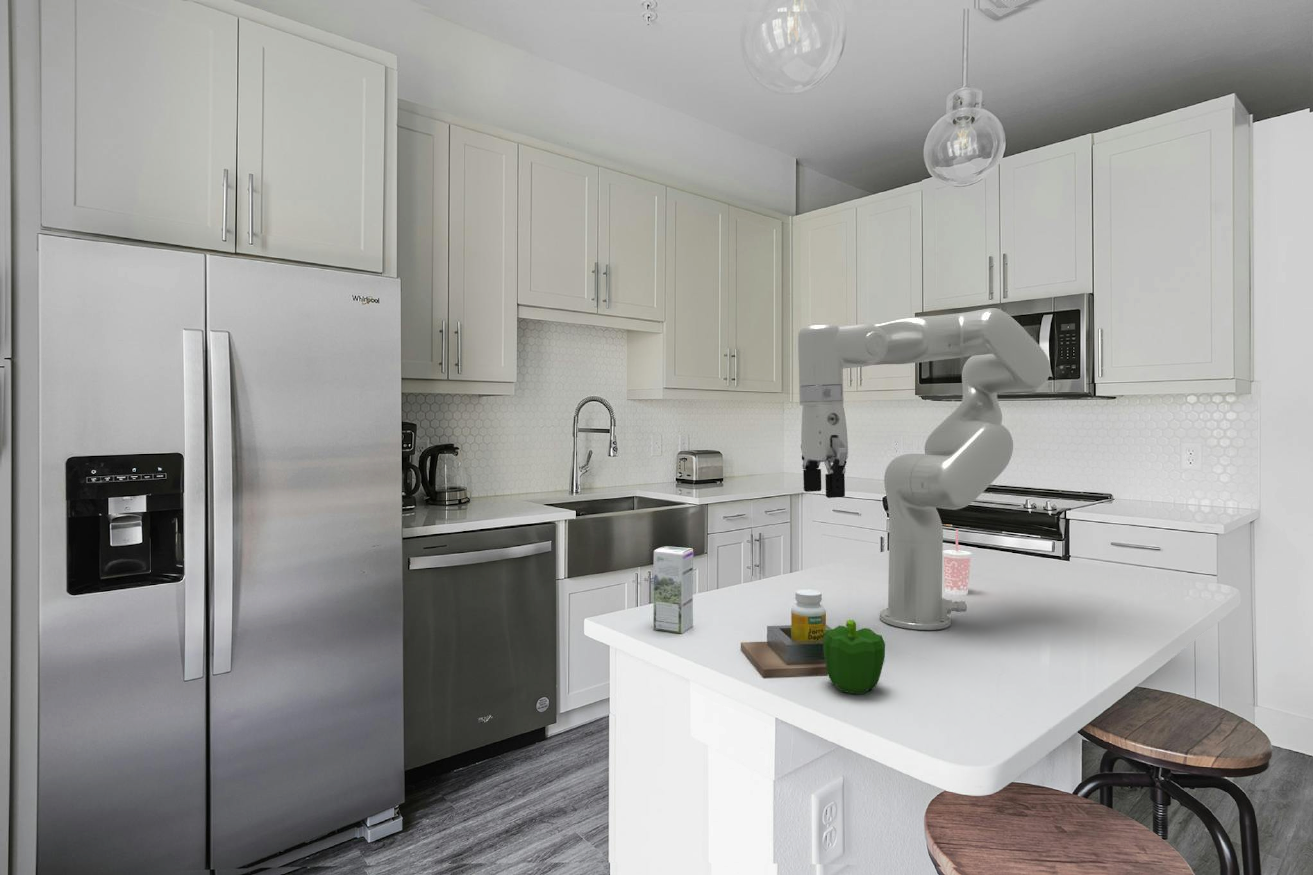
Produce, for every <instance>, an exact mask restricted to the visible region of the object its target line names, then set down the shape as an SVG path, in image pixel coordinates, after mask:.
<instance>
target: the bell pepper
mask: <svg viewBox="0 0 1313 875" xmlns="http://www.w3.org/2000/svg"><path fill="white" fill-rule="evenodd" d="M832 629H833V630H826V632H825V635H824V637H823V652H824V657H825V663H826V667H827V672H828V675H827V676H828V678H829V681H830V682H831V683H832V685H833V686H836V688H837V689H839V690H840V691H841V692H846V693H848V694H857V695H858V694H859V695H860V694H862V693H866V692H868V690H872V689H875V687H876V686H877V684H878V683H879V680H880V677H881V674H882V670H883V667H884V663H885V658H886V657H885V655H886V642H885V641H884V637H883V636H882V635H881V634H877V633H876V632H875V631H874V630H872V629H871V628H870V627H869V628H867V627H864V628H860V629H857V622H856V621H855V620H854V619H849V620H847V621H846V623H845V626H844V625H838V626H837V627H835V628H832Z"/></svg>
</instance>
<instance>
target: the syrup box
mask: <svg viewBox="0 0 1313 875" xmlns="http://www.w3.org/2000/svg"><path fill="white" fill-rule="evenodd" d="M693 589H694V549H693V548H691V547H681V546H680V547H677V546H667V545H665V546H661V547H657V548H656V549H654V550H653V614H652V615H653V630H654V631H661V632H667V633H668V632H670V633H676V634H683V633H685V632H686V631H688V630H690V629H691V628H692V627H693V625H694V608H693V607H694V604H693V603H694V601H693V600H694V598H693V596H694V595H693V594H694V590H693Z"/></svg>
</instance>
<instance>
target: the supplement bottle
mask: <svg viewBox="0 0 1313 875" xmlns="http://www.w3.org/2000/svg"><path fill="white" fill-rule="evenodd" d="M822 598H823V597H822V592H821V591H819V590H816V589H808V588H807V589H804V588H803V589H798V590H795V598H794V599H795V601H796V603H794V604H793V605H792V606H791V609H790V610H791V611H790V613H791V614H790V616H791V617H790V618H791V621H790V625H791V640H792V641H793V642H794V641H820V640H823V637H824V635H825V632H826V624H827V610H826V608H825V606H824V605H822V604H821V603H822Z"/></svg>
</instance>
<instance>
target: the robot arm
mask: <svg viewBox="0 0 1313 875" xmlns="http://www.w3.org/2000/svg"><path fill="white" fill-rule="evenodd" d="M797 351H798V357H797V358H798V385H799V387H798V388H799V389H798V393H799V396H798V397H799V406H802V410H801V412H802V413H801V435H800V437H801V440H800V441H801V444H800V450H801V459H802V465H801V466H802V467H801V468H802V471H803V476H802V477H803V491H804V492H807V493H808V492H811V493H812V492H821V491H822V468H819V467H820V466H821V463H824V466H825V469H826V471H827V472H826V473H825V479H824V480H825V497H826V498H827V499H832V498H833V499H835V498H845V496H846V489H845V488H846V486H845V485H846V484H845V483H846V482H845V481H846V480H845V474H846V471H847V470H846V465H847V460H848V459H849V441H848V429H847V420H846V413H845V408H844V402H845V401H844V369H854V368H864V367H870V366H878V365H879V366H880V365H881V366H882V365H906V364H917V363H926V362H933V361H940V360H941V361H942V360H951V359H952V360H953V359H958V358H959V359H961V358H966V357H969V358H968V359H967V360H966V361H965V363H964V365H963V368H962V372H961V384H962V400H961V403H960V404H959V405H958V406H957V408H956V409H955V410H954V411H953V412H952V413H951V414H949V415H948V416H947V417H946V418H945V419H944V420H943V421H942V422H941V423H940V424H939V425H937V427H935V429H933V431H931V433H930V434H929V435H928V436H927V438H926V441H925V444H924V447H923V448H924V453H906V454H902V455H899V456H897V457H894V459H892V460H891V461H890V462H889V463H888V465H887V467H886V469H885V471H884V476H883V478H884V479H883V480H884V481H883V484H884V489H885V495H886V501H887V505H888V506H887V507H888V508H887V509H888V518H889V521H888V525H889V528H888V529H889V530H888V534H889V536H888V600H887V606H888V607H886V608H883V609H881V610H880V611H879V619H880V620H881V621H882V622H884V623H886V624H888V625H890V626H894V627H898V628H903V629H907V630H908V629H909V630H910V629H911V630H918V631H934V630H935V631H936V630H942V629H946V628H948V627H950V626H951V625H952V622H951V620H952V619H951V617H950V616H949V615H950V614H951V613H952V612H955V613H959V612H960V613H963V612H964V613H965V612H967V609H968V607H967V603H966V602H965V601H962V600H960V601H957V600H956V601H953V600H952V599H946V598H944V597H943V558H944V557H943V551H944V550H943V549H944V548H943V547H944V546H943V545H944V542H943V541H944V529H943V523H942V520H941V517H940V514H939V511H938V510H937V509H943V510H960V509H963V508H966V507H968V506H969V505H971V504H972V503H974V502H975V500H977V499H978V497H979V496H981V495H982V494H983V493H984V492H985V491H986V489H988V487H989V486H991V484H992V483H993V482H994V481H996V479H997V478H998V477H999V476H1000V475H1001V474H1002V473H1003V472H1004V470H1005V469H1006V468H1007V466H1009V464H1010V461H1011V459H1012V455H1013V452H1014V440H1013V437H1012V434H1011V432H1010V430H1009V429H1007V427H1006V426H1004V425H1003V424H1002V422H1003V412H1002V410H1001V406H1000V405H999V400H998V394H997V393H1015V392H1016V393H1017V392H1031V391H1035V390H1037V389H1040V388H1041V387H1043V386H1044V384H1046V383H1047V381H1048V379H1049V376H1050V373H1051V365H1050V364H1051V363H1050V360H1049V357H1048V356H1047V354H1046V352H1045V350H1044V349H1043V348H1042V347H1041V345H1040V344H1039V343H1038V342H1037V341H1036V340H1035V339H1034V338H1033V337H1032V336H1031V334H1029V333H1028V332H1027V331H1026V329H1025V328H1024V327H1023V326H1022V325H1021V324H1020V323H1018V321H1017V320H1015V318H1013V317H1012V316H1011V315H1010V314H1008V313H1007V312H1005V311H1003V310H1002V309H999V308H995V307H993V308H992V307H990V308H983V309H978V310H973V311H967V312H961V313H960V312H959V313H957V312H956V313H949V314H939V315H925V316H913V317H907V318H901V319H896V320H892V321H888V322H884V323H879V324H871V323H859V324H852V325H840V326H839V325H835V324H827V323H826V324H824V323H823V324H813V325H806V326H804V327H801V329H799V331H798V335H797Z"/></svg>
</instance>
